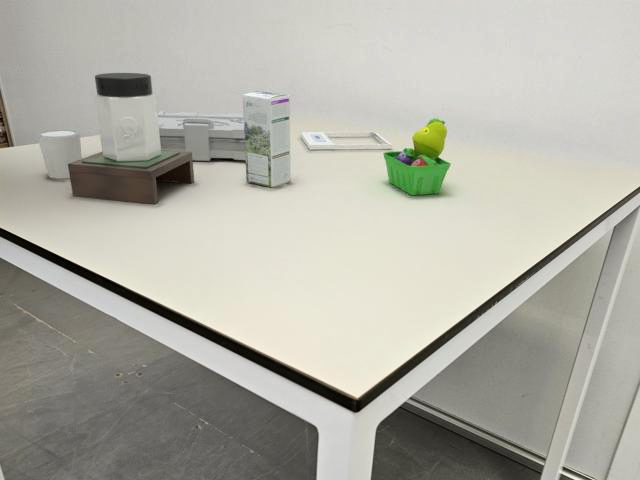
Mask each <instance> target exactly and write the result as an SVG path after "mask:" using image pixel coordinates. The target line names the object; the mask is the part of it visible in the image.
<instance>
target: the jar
mask: <svg viewBox="0 0 640 480" xmlns="http://www.w3.org/2000/svg"><path fill="white" fill-rule="evenodd" d="M94 81H95V88H96V93H95V94H94V95H93V96H94V102H95V111H96V117H97V124H98V129H99V130H98V131H99V139H100V144H101V150H102V151H101V152H103V156H104V157H106V158H109V159H111V160H114V161H117V162H128V161H148V160H150V159H153V158H155V157H157V156H160V155H161V144H160V134H159V124H158V114H159V113H158V105H157V96H156V93H154V92H153V84H152V83H153V82H152V76H151V74H148V73H147V74H145V73H140V72H139V73H138V72H109V73H99V74H96V75H94Z"/></svg>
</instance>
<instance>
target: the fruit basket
mask: <svg viewBox="0 0 640 480" xmlns="http://www.w3.org/2000/svg"><path fill="white" fill-rule="evenodd" d="M445 124H446V121H444V120H440V119H439V118H436V117H434V118H431V119H430V120H429V121H428V122H427V124H426V125H425V126H424V127H422V128H420V129H418V130H417V131H415V132H414V133H413V135H412V138H411V139H412V144H413V148H411V147H410V148H408V147H405V148H403V150H401V151H400V150H399V151H398V150H397V151H386V152H383V158H384V160H385V161H384V162H385V165H386V171H387V176H388V182H389V183H390V184H391V185H394V186H395V187H397V188H399V189H401V190H402V191H403V192H405V193H407V194H409V195H410V196H417V195H418V196H422V195H431V194H433V195H435V194H437V195H438V194H439V193H440V190H441V188H442V185H443V182H444V181H445V178H446V175H447V172H448V171H449V169H450V167H451V166H452V164H451V162H449V161H446V160H445V159H443V158H441V157H440V156H441V155H442V153H443V151H444V149H445V145H446V138H447V134H448V130H447V127H446V125H445Z"/></svg>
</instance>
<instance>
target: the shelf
mask: <svg viewBox="0 0 640 480" xmlns="http://www.w3.org/2000/svg"><path fill="white" fill-rule="evenodd" d="M68 169H69V175H70V178H69V181H70V187H71V192H72V196H73V197H81V198H89V199H99V200H109V201H118V202H129V203H137V204H148V205H156V204H158V203H159V195H158V188H157V187H158V186H157V181H158V182H159V181H161V182H171V183H181V184H193V183H195V173H194V160H192V152H182V151H170V150H161V155H160V156H157V157H155V158H153V159H150V160H148V161H128V162H117V161H114V160H111V159H109V158H106V157H104V156H103V152H102V151H100V152H97V153H94V154H91V155H88V156H85V157H83V158H82V159H80V160H77V161H74V162H71V163H69V164H68Z"/></svg>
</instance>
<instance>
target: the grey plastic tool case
mask: <svg viewBox="0 0 640 480" xmlns="http://www.w3.org/2000/svg"><path fill="white" fill-rule="evenodd" d="M157 114H158V124H159V134H160V144H161V150H170V151H182V152H192V160H193V161H206V162H207V161H208V162H210V161H211V159H233V160H235V161H246V158H245V134H244V113H227V112H225V114H210V113H209V114H207V113H199V112H192V111H177V113H176V112H175V113H173V112H172V113H171V112H170V113H169V112H166V111H165V110H160V111H159V112H158V113H157Z"/></svg>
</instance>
